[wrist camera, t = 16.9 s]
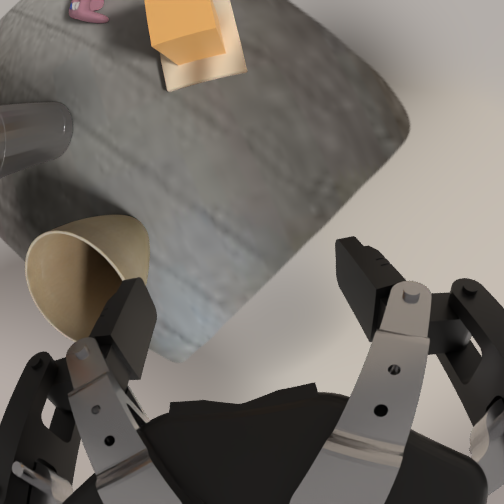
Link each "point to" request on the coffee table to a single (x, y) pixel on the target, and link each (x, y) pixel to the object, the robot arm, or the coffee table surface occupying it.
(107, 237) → the plant pot
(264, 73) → the coffee table surface
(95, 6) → the video game controller
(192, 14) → the tall orange pillar
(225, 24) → the flat beige base block
